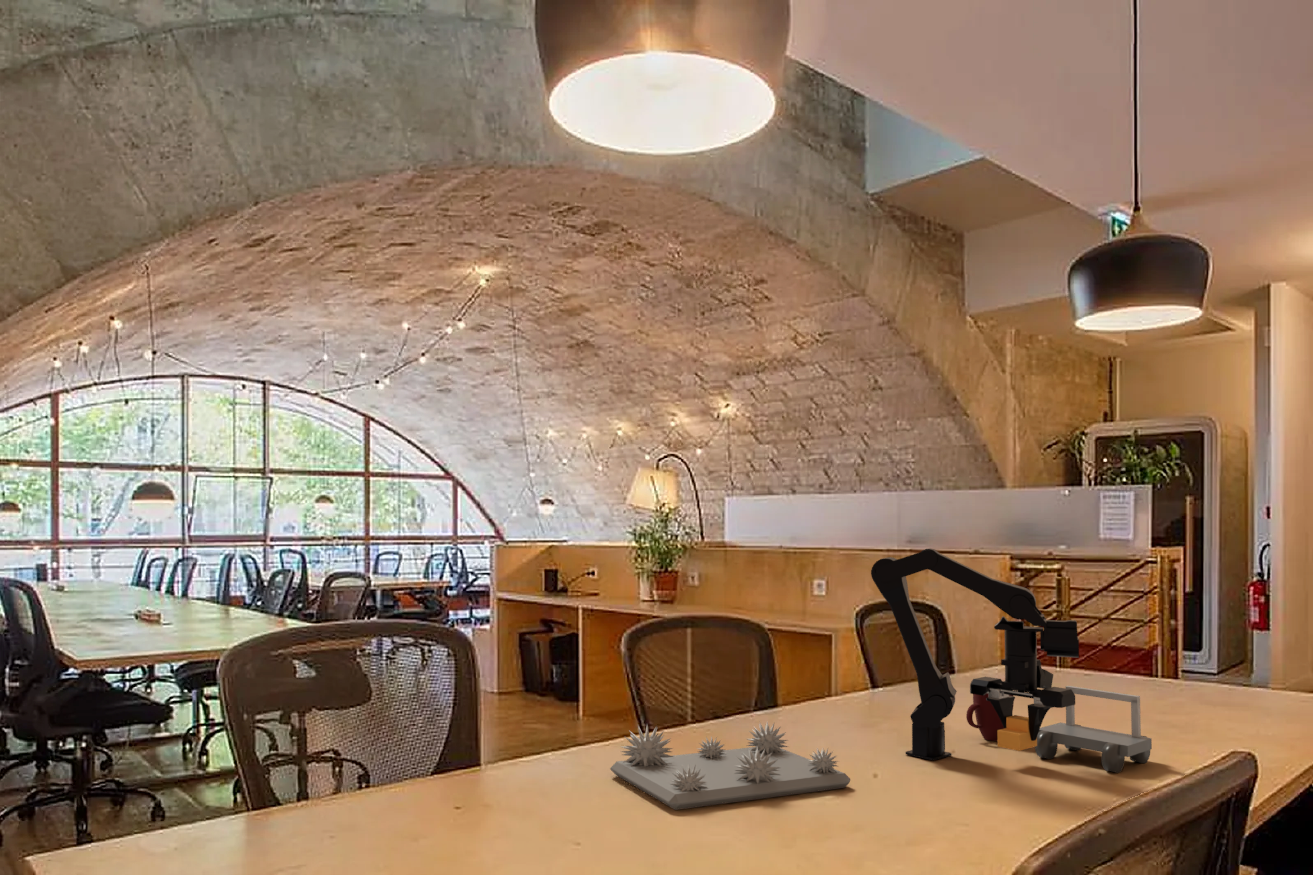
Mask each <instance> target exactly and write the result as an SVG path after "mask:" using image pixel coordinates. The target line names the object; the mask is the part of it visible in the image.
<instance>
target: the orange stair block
mask: <svg viewBox="0 0 1313 875" xmlns="http://www.w3.org/2000/svg"><path fill="white" fill-rule="evenodd" d="M997 737H998V741H997V747H998V748H1003V749H1008V750H1013V751H1018V752H1021V751H1024V750H1027V749H1031V748H1035V746H1037V738H1036V740H1034V741H1032V740H1031V737H1030V731H1029V718H1028V716H1022V715H1017V714H1013V716H1009V717H1006V728H1004V729H1000V730H997Z"/></svg>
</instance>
